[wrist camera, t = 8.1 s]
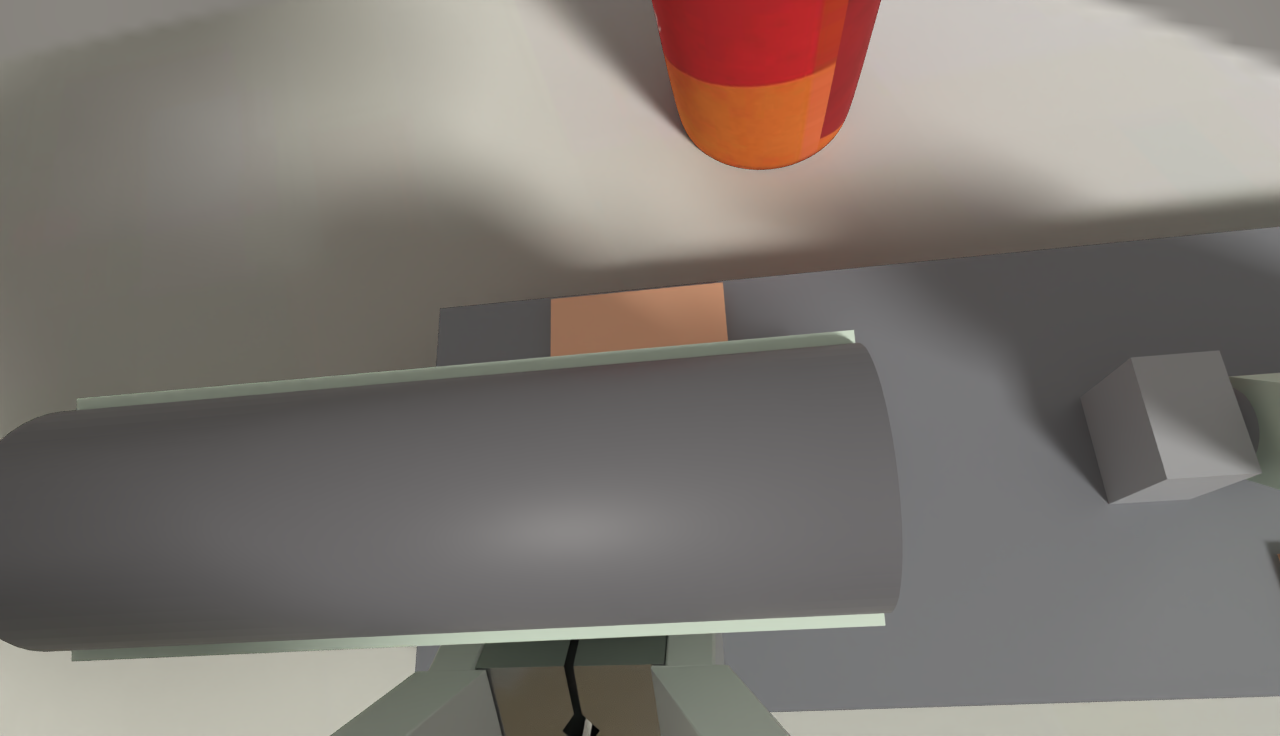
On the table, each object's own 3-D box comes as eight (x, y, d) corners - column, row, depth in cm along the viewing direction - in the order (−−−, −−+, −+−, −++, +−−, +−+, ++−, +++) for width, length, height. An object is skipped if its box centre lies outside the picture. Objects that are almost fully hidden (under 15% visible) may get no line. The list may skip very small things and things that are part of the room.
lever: (516, 519, 17) (-52, 700, 5) (512, 433, 18) (-41, 388, 5) (778, 502, 17) (919, 664, 4) (770, 413, 17) (878, 303, 4)
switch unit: (458, 714, 19) (357, 733, 14) (476, 349, 22) (401, 264, 18) (1618, 676, 16) (1996, 684, 11) (1419, 263, 19) (1638, 133, 15)
